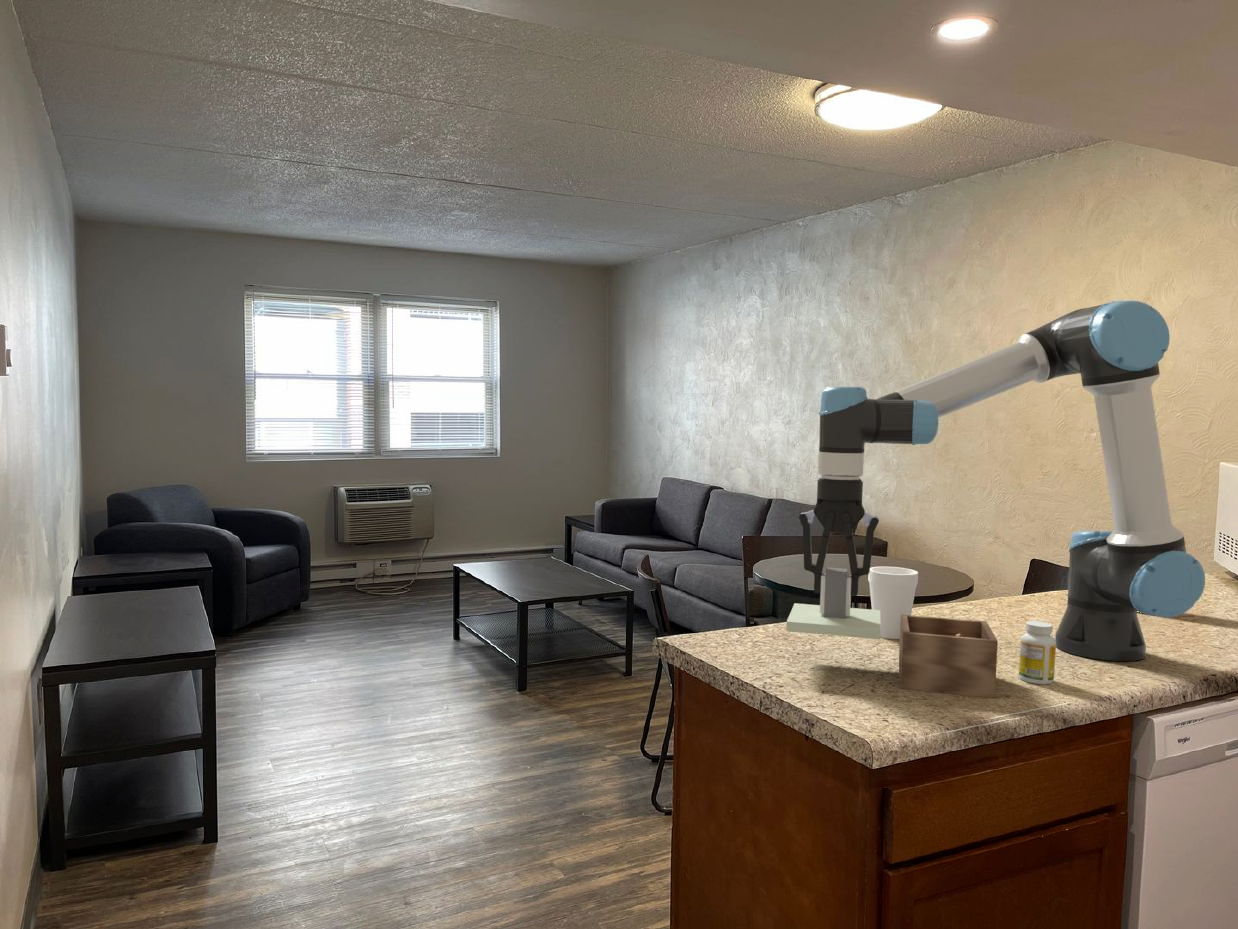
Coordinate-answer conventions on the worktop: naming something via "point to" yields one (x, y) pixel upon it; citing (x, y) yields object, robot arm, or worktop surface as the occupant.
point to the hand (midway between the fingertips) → (835, 612)
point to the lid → (835, 613)
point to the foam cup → (892, 596)
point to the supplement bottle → (1037, 653)
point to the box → (947, 656)
